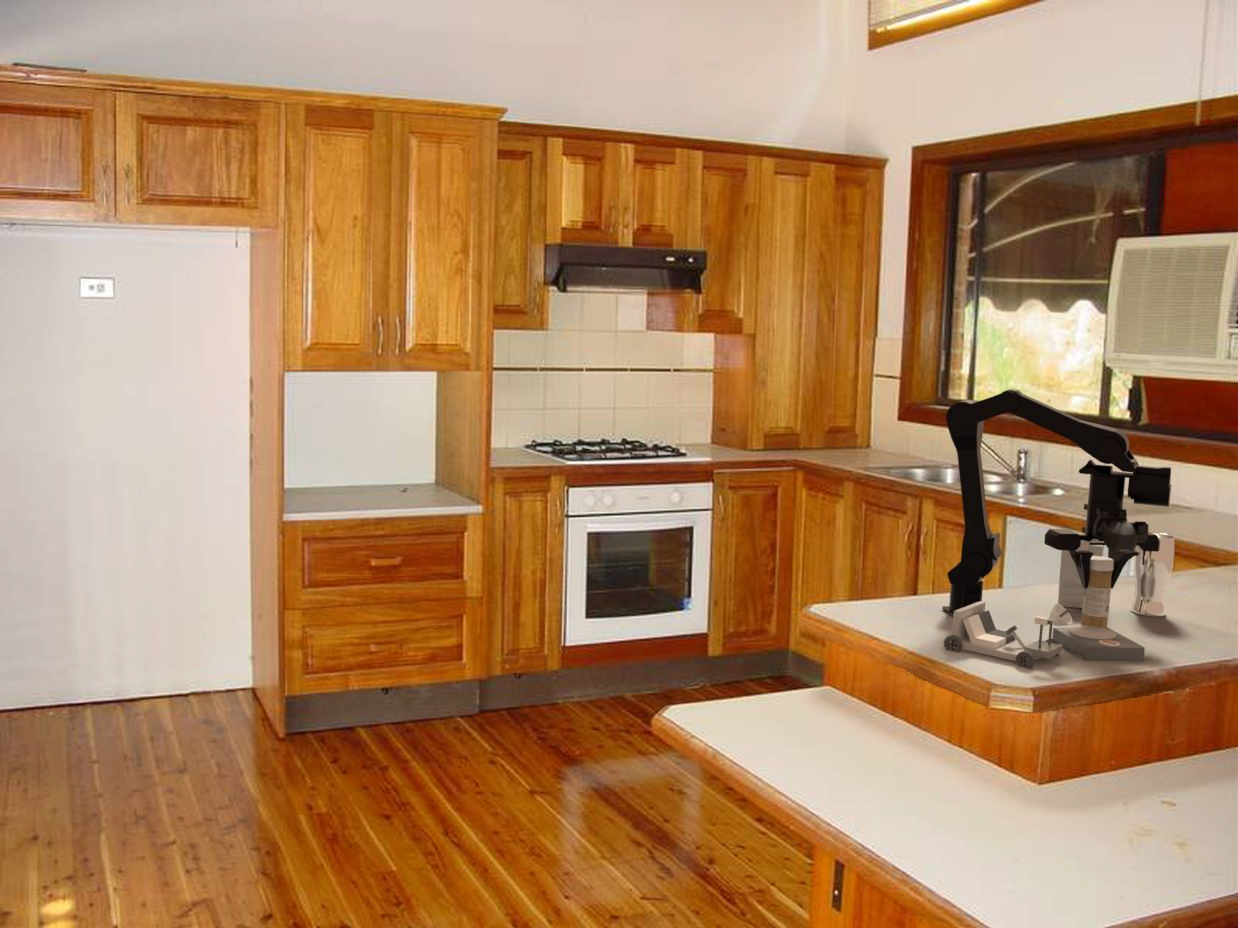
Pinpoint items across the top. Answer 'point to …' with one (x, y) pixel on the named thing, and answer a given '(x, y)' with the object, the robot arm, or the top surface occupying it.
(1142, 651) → the kitchen scale
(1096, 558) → the sprinkles bottle
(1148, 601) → the beer glass
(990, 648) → the toy go kart
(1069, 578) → the supplement box
